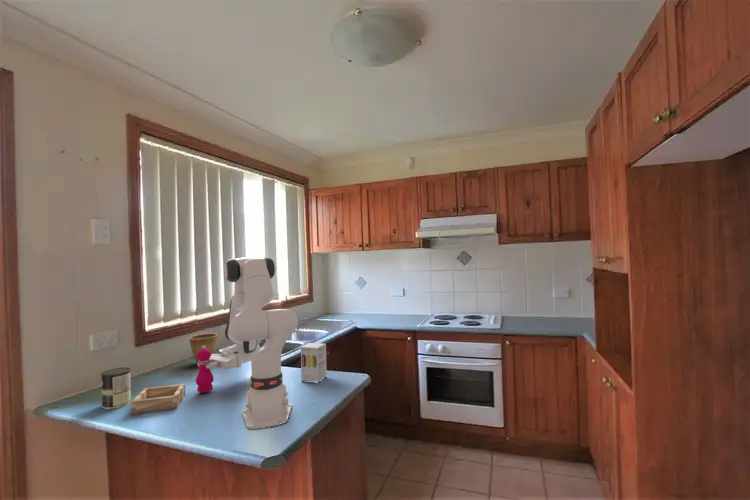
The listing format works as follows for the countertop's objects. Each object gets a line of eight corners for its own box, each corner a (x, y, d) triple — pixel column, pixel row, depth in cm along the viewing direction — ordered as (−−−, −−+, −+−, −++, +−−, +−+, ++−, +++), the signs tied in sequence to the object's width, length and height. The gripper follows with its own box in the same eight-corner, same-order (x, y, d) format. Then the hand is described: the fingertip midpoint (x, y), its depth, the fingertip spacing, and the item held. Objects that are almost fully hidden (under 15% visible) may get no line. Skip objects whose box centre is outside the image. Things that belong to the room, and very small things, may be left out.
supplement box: (300, 382, 175) (299, 346, 175) (310, 376, 184) (309, 342, 184) (318, 383, 172) (317, 347, 172) (327, 377, 181) (326, 343, 181)
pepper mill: (207, 393, 161) (205, 347, 162) (192, 392, 163) (191, 347, 163) (217, 387, 168) (215, 343, 169) (203, 386, 170) (201, 343, 170)
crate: (177, 408, 148) (176, 396, 148) (131, 414, 143) (131, 402, 144) (185, 394, 163) (185, 383, 163) (144, 400, 159) (144, 388, 159)
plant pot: (221, 359, 221) (220, 332, 221) (212, 366, 206) (211, 338, 207) (196, 360, 220) (195, 333, 220) (185, 368, 205) (184, 339, 206)
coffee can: (97, 411, 148) (97, 376, 149) (106, 402, 158) (105, 369, 158) (127, 406, 152) (127, 372, 152) (134, 398, 162) (133, 365, 162)
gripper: (216, 349, 182) (189, 356, 171) (242, 353, 171) (215, 361, 160) (216, 362, 182) (189, 369, 171) (243, 367, 171) (216, 375, 159)
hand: (202, 365), depth 165 cm, fingers closed on pepper mill, 5 cm apart
